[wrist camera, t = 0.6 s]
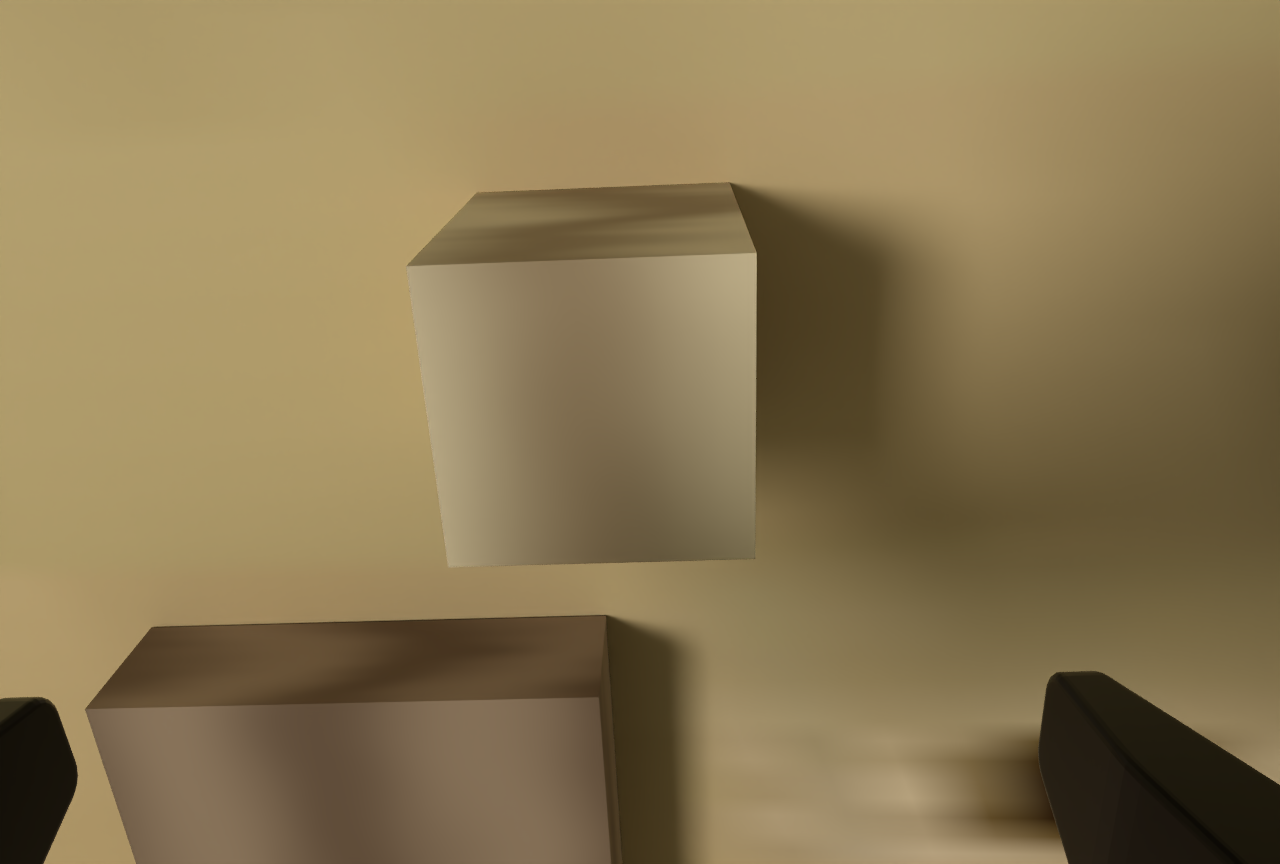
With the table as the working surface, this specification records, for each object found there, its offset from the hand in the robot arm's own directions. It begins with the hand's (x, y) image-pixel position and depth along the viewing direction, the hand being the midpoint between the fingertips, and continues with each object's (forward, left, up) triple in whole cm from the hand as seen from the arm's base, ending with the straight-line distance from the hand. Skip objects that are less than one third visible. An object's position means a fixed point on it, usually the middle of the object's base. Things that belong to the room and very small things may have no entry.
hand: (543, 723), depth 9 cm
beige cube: (0, 0, -13) cm, 13 cm away
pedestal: (+6, +13, -13) cm, 19 cm away
